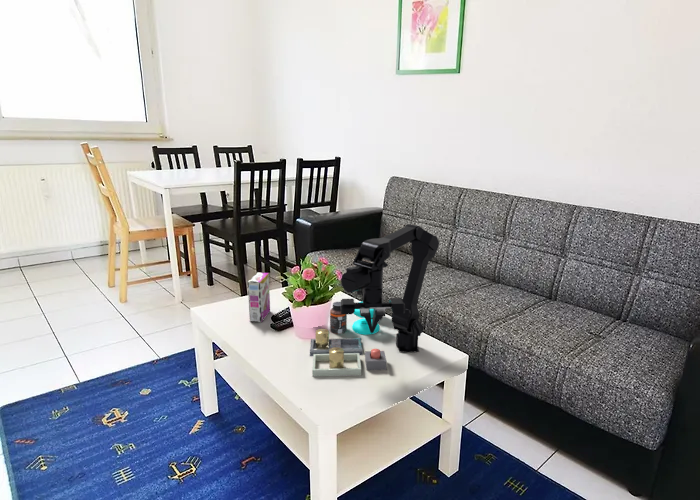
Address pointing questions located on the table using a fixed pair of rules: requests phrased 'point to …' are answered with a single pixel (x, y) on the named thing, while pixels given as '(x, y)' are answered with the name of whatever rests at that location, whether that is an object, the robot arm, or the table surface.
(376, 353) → the button
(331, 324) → the supplement bottle
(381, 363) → the grey square socket block
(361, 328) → the donuts
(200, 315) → the table surface
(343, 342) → the grey flat frame
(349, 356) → the tray
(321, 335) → the cylinder
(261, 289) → the candy bar box
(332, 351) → the billet
